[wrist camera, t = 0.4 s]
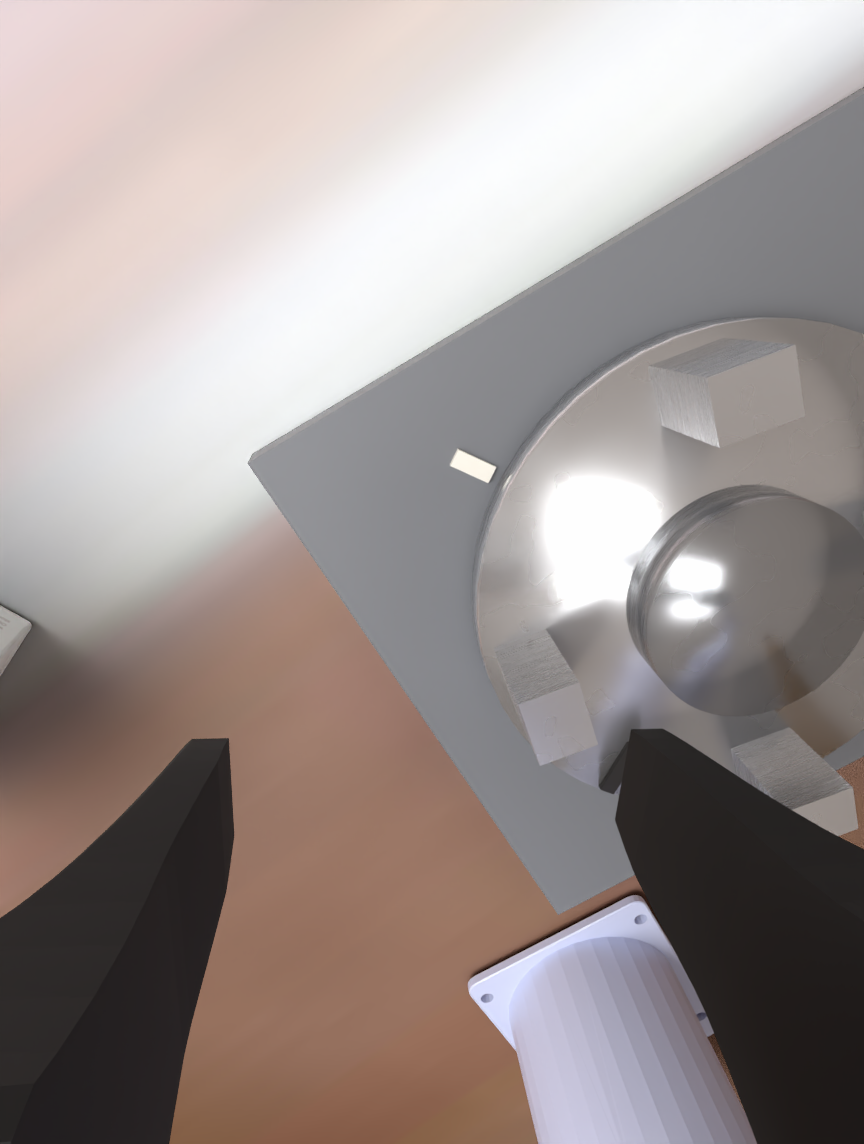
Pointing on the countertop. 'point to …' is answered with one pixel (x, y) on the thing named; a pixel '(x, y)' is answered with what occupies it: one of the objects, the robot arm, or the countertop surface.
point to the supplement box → (11, 635)
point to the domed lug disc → (689, 561)
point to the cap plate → (506, 417)
